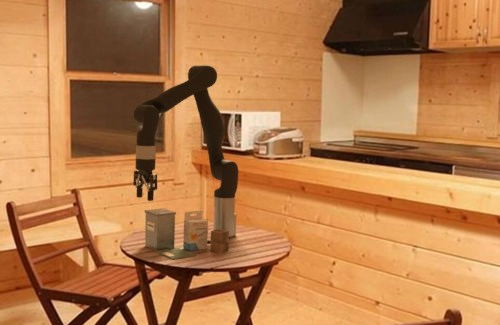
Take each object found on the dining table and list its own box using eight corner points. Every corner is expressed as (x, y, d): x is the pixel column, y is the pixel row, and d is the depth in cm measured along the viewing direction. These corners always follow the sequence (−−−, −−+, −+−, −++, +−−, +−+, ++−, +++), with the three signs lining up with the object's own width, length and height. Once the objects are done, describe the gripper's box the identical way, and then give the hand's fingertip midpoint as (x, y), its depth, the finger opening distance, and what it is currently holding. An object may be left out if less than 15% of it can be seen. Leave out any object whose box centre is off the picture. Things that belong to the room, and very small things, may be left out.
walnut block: (218, 248, 233) (218, 229, 232) (228, 250, 230) (228, 231, 229) (210, 251, 228) (211, 231, 228) (220, 253, 226) (221, 233, 225)
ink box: (188, 251, 227) (189, 214, 225) (182, 248, 231) (183, 211, 229) (207, 248, 232) (208, 212, 230) (201, 246, 236) (202, 210, 234)
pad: (178, 248, 230) (178, 247, 230) (195, 255, 221) (195, 254, 221) (156, 252, 223) (156, 251, 223) (173, 259, 214) (173, 258, 214)
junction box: (163, 243, 238) (163, 208, 236) (175, 248, 230) (176, 212, 229) (144, 246, 232) (144, 210, 231) (156, 251, 225) (157, 214, 223)
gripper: (163, 158, 220) (162, 201, 222) (145, 155, 231) (144, 195, 232) (146, 159, 215) (145, 202, 217) (128, 155, 226) (127, 197, 228)
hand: (144, 199), depth 225 cm, fingers open, 8 cm apart
